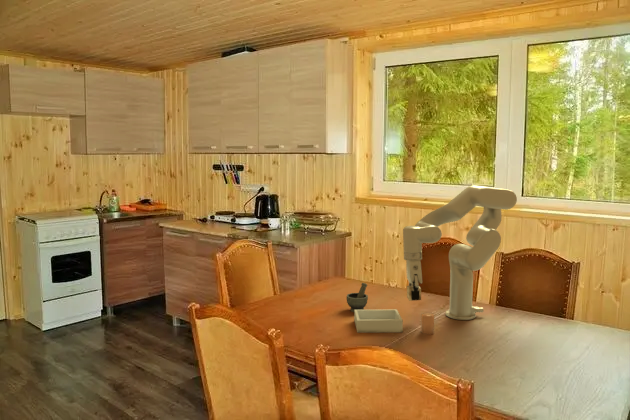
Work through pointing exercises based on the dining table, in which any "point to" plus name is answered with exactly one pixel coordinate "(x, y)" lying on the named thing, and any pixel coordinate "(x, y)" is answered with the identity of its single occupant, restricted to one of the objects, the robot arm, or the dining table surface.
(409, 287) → the cube
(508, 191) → the robot arm
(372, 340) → the dining table surface
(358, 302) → the mortar and pestle
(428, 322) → the cylinder
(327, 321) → the dining table surface
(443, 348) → the dining table surface
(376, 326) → the tote
